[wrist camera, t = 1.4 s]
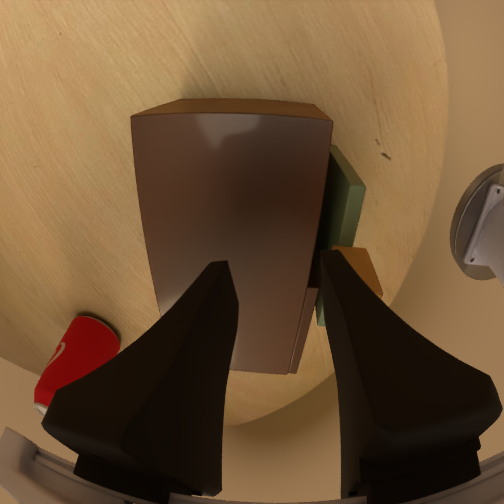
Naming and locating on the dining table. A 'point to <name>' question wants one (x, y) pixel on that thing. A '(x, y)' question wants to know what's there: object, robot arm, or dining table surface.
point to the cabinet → (237, 212)
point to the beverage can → (76, 357)
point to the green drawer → (342, 224)
